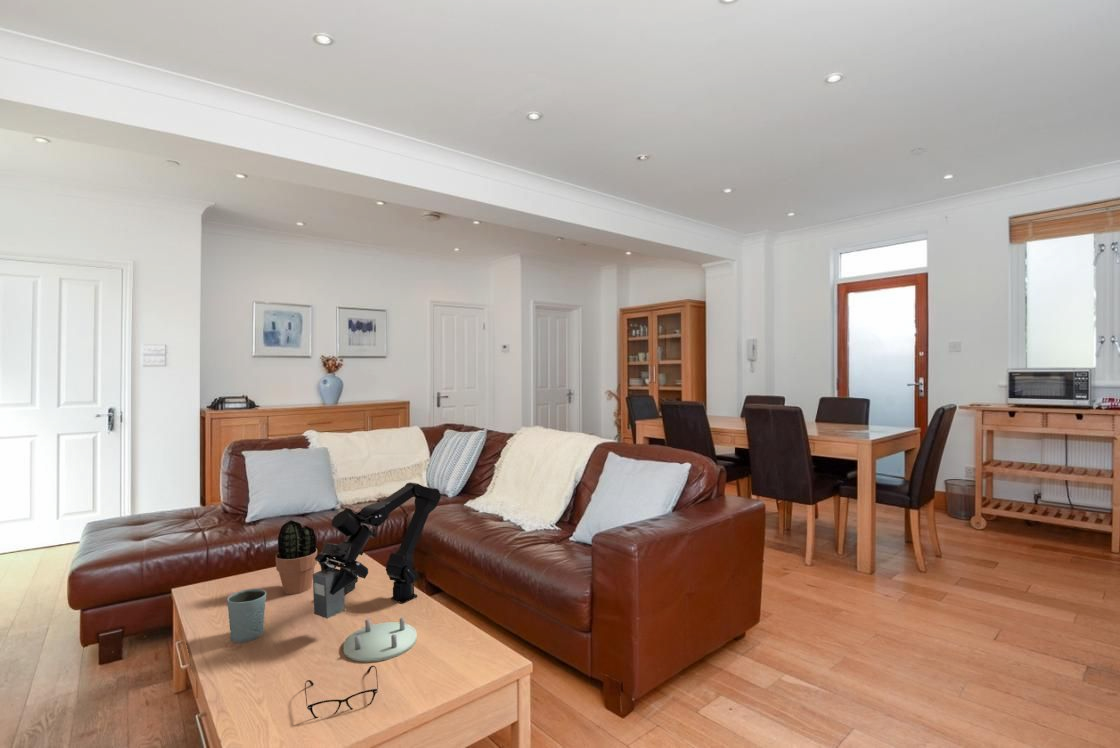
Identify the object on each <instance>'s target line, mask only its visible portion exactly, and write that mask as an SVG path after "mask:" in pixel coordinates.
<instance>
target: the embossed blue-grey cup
mask: <svg viewBox="0 0 1120 748" xmlns="http://www.w3.org/2000/svg"><path fill="white" fill-rule="evenodd" d="M266 601H267V591H266V590H264V589H261V588H252V589H251V588H250V589H243V590H240V591H237V592H234V593H232V594H230V595H229V596H228V597H227V599H226V602H227V611H228V623H229V625H228V627H229V631H230V634H229V635H230V636H229V637H230V640H231V641H232V642H234V643H245V642H249V641H253V640H255V639H258V638H259V637H261V636H262V635H263V634H264V630H265V629H264V627H265V626H264V625H265V610H266Z"/></svg>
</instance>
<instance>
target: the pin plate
mask: <svg viewBox="0 0 1120 748" xmlns="http://www.w3.org/2000/svg"><path fill="white" fill-rule="evenodd" d="M364 622H365V624H364V625H365V627H363V628H362V627H361V628H360V629H358V630H356V631H354V632H352V633H351V634H350V635H349V636H348V637H347V638H346V639H345V640H344V642H343V654H344V655H345V656H346V657H347V658H348V659H350V660H353V661H355V662H361V663H374V662H381V661H382V662H383V661H386V660H390V659H393V658H396V657H398V656H401V655H404V653H406V652H408V651H409V650H411V648H413V646H414V645H415V644H416V642H417V637H418V636H417V630H416V629H415V628H414V626H411V625H409V624H408V623H405V622H406V621H405V617H400V618H399V622H398V621H397V622H395V621H393V622H391V621H390V622H380V623H375V624H371V619H370V618H369V619H365V621H364Z"/></svg>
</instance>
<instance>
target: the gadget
mask: <svg viewBox="0 0 1120 748" xmlns="http://www.w3.org/2000/svg"><path fill="white" fill-rule="evenodd" d="M358 581H359V578H358V579H355V580H354V581H352V582H351V583H349V584H348V585H346V586H345V587H344V595H345V594H347V593H349V592H350V591H353V590H355V589H356V583H358Z"/></svg>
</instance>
